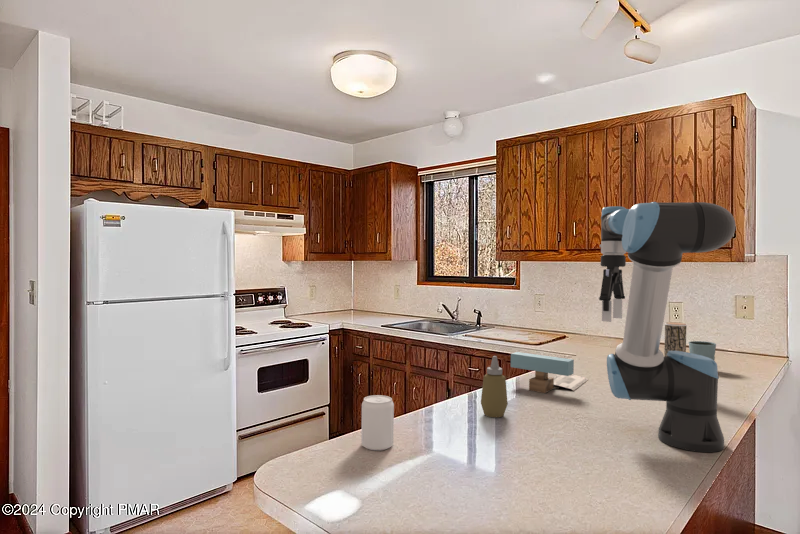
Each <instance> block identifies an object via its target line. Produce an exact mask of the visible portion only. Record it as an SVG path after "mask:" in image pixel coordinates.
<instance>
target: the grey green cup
mask: <svg viewBox="0 0 800 534" xmlns="http://www.w3.org/2000/svg"><path fill="white" fill-rule="evenodd" d="M716 347H717V344H716V343H715V342H710V341H704V340H699V341H698V340H694V341H689V342H688V350H689V353H693V354H697V355H701V356H705V357H708V358H711V359H713V360H714V361H716V360H715V359H716V357H715V355H716V349H717V348H716Z"/></svg>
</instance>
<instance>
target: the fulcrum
mask: <svg viewBox="0 0 800 534" xmlns="http://www.w3.org/2000/svg"><path fill="white" fill-rule="evenodd" d="M534 373H535V375H534V376H533V377H532V378H529V380H528V381H529V382H528V383H529V384H528V390H529V391H531V392H537V393H544V394H546V393H548V392H549V391H552V390H555V389H554V377H551V376H549V373H546V372H539V371H534Z"/></svg>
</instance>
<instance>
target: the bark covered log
mask: <svg viewBox="0 0 800 534" xmlns="http://www.w3.org/2000/svg"><path fill="white" fill-rule="evenodd" d="M663 349H664V353H663V355H664V357H667V353H668V351H682V352H687V323H683V322H672V321H671V322H665V323H664V348H663Z"/></svg>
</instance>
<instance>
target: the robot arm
mask: <svg viewBox="0 0 800 534" xmlns="http://www.w3.org/2000/svg"><path fill="white" fill-rule="evenodd" d="M600 220H601V224H600V228H601V230H600V231H601V236H600V238H601V239H600V240H601V241H600V243H601V244H599V248H600V253H601V254H602V255H601V256H600V266H601V267H606V269H605V268H604V269H603V271H602V272H603V274H602V282H601V289H600V295H599V298H598V300H599V301H601V322H606V323H607V322H608V323H612V319H619V320H620V319H623V300H625V299H626V296H625V293H624V283H623V282H624V281H623V270H622V269H620V267H622V268H623V267H626V264H627V262H626V261H627V257H628V259H629V261H631V262H632V263H633V264H632V273H631V281H630V287H629V295H628V301H627V303H628V304H627V309H626V316H625V326H624V332H623V339H622V342H621V343H619V344H617V345H616V348H615V350H614V351H615V353H610V354H607V357H606V370H607V378H608V385H609V388H610V391H611V393H612V395H613V396H614V397H615V398H617V399H626V400H629V401H632V400H636V401H653V402H654V401H657V402H666V403H665V404H666V405H665V406H666V407H665V411H664V414H663V416H662V420H661V421H660V424H659V425H658V426H659V427H658V430H657V431H658V435H657V436H658V437H657V438H658V439H659V440H660V441H661V442H662V443H664V444H667V445H668V446H671V447H674V448H677V449H681V450H686V451H690V452H691V451H692V452H698V453H699V452H700V453H716V452H720V451H722V450H725V449H724V448H725V437H724V434H723V431H722V427H721V424H720V422H719V419H718V389H719V386H718V385H719V374H718V372H719V371H718V370H719V369H718V363H717V362H716V360H713V359H711V358H708V357H705V356H701V355H697V354H693V353H690V352H687V351H686V352H682V351H668V353H667V357H664V353H663V352H662V350H661V349H660V345H661V339H662V334H663V333H662V331H663V326H664V320H665V315H666V309H667V303H668V297H669V291H670V285H671V279H672V275H673V274H672V273H673V268H674V267H677V266H679V265H680V264H681V263H682V259H683V254H694V253H695V254H696V253H699V254H700V253H709V252H713V251H715V250H718V249H720V248H722V247H723V246H725V245H726V244H727V243H729V242H730V241H731V240H732V238H733V237H734V235H735V233H736V232H735V231H736V227H737V226H736V220H735V217H734V216H733V214H732V213H731V212H730V210H728V209H727V208H725V207H723V206H722V205H718V204H715V203H710V202H705V201H701V202H700V201H699V202H698V201H696V202H691V201H690V202H683V201H682V202H657V201H651V202H640V203H636V204H634V205H633V206H631V207H630V208H626V207H624V206H606V207H603V208H602V209H601V216H600ZM624 254H627V257H626V255H624ZM612 294H613V297H614V298H612ZM612 302H613V303H612Z"/></svg>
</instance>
